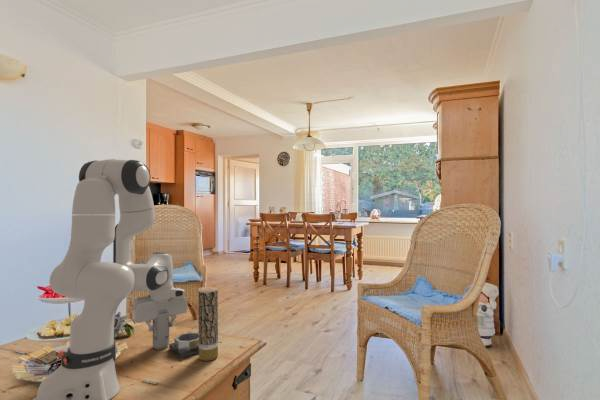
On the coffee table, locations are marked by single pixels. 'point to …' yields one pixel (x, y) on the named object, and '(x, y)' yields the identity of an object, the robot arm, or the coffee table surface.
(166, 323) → the energy drink can
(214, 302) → the bark patterned cylinder
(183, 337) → the can mount
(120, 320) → the passion flower
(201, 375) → the coffee table surface
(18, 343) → the coffee table surface
